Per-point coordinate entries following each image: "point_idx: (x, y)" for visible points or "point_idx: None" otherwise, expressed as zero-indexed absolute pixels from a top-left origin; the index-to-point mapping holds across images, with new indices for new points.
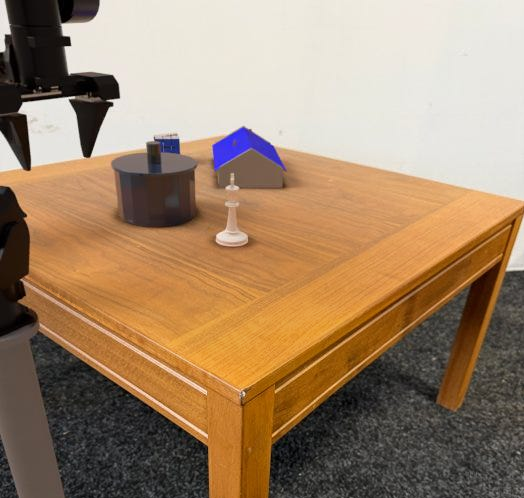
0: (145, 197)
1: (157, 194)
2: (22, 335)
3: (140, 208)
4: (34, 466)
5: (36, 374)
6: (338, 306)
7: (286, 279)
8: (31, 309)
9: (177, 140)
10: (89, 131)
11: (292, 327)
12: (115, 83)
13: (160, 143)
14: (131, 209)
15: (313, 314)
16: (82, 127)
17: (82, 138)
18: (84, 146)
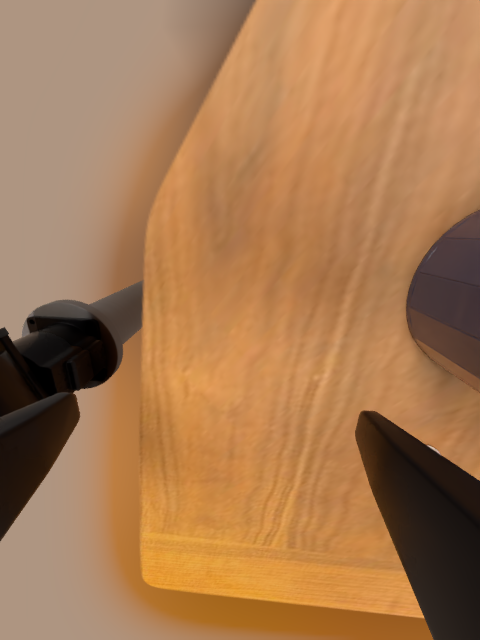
0: (456, 358)
1: (475, 384)
2: (82, 388)
3: (432, 333)
4: None
5: (134, 333)
6: (299, 592)
7: (328, 549)
8: (116, 354)
9: None
10: (434, 601)
11: (239, 581)
12: None
13: None
14: (429, 307)
15: (271, 584)
16: (475, 582)
17: (414, 491)
18: (380, 466)
